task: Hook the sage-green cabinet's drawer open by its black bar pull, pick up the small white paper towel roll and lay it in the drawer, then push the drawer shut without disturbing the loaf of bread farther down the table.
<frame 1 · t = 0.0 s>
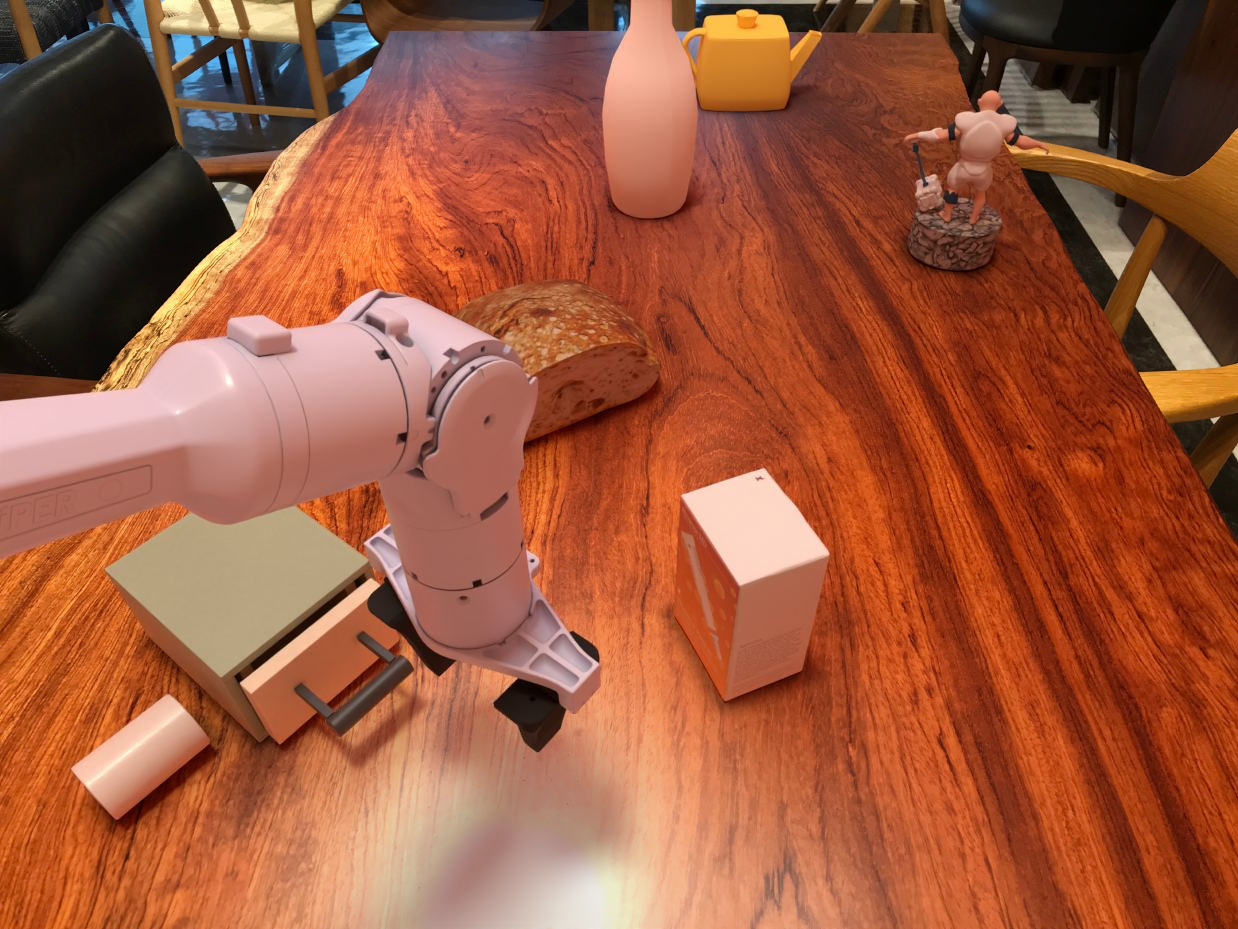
hand: (494, 698, 50), 9 cm above the table, tool pointing down, fingers open, 7 cm apart
paper towel roll: (155, 770, 56), on the table
bread: (543, 380, 85), on the table
figurine: (947, 252, 100), on the table
drawer: (295, 634, 59), point 4 cm above the table, slide at 0.5 cm
small box: (735, 644, 63), on the table
teapot: (746, 97, 132), on the table
bottle: (648, 203, 109), on the table
cabinet: (271, 633, 64), on the table
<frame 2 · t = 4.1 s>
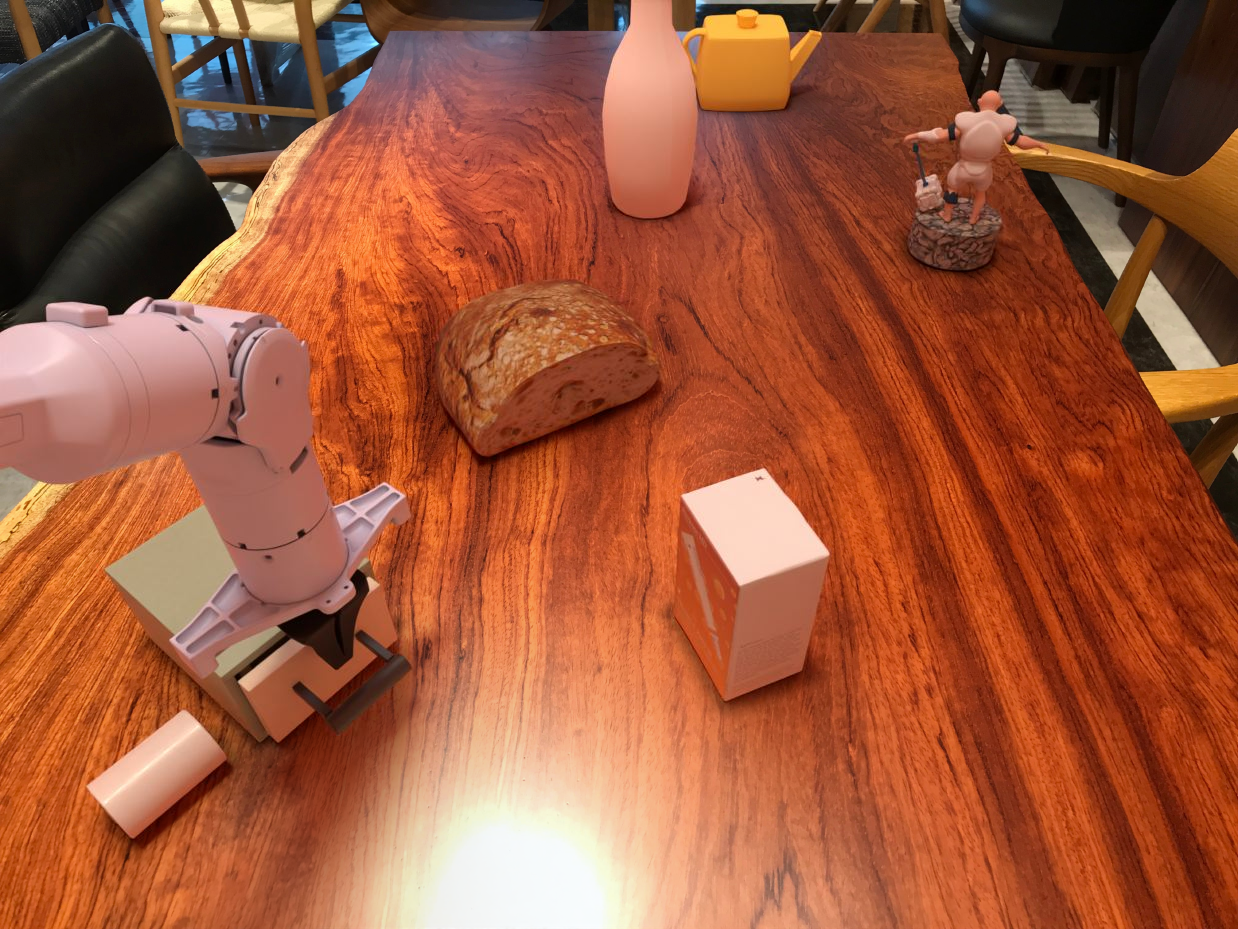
hand: (335, 655, 55), 6 cm above the table, tool pointing down, fingers closed
paper towel roll: (153, 767, 56), point 1 cm above the table, tilted 50°
everything else where it was.
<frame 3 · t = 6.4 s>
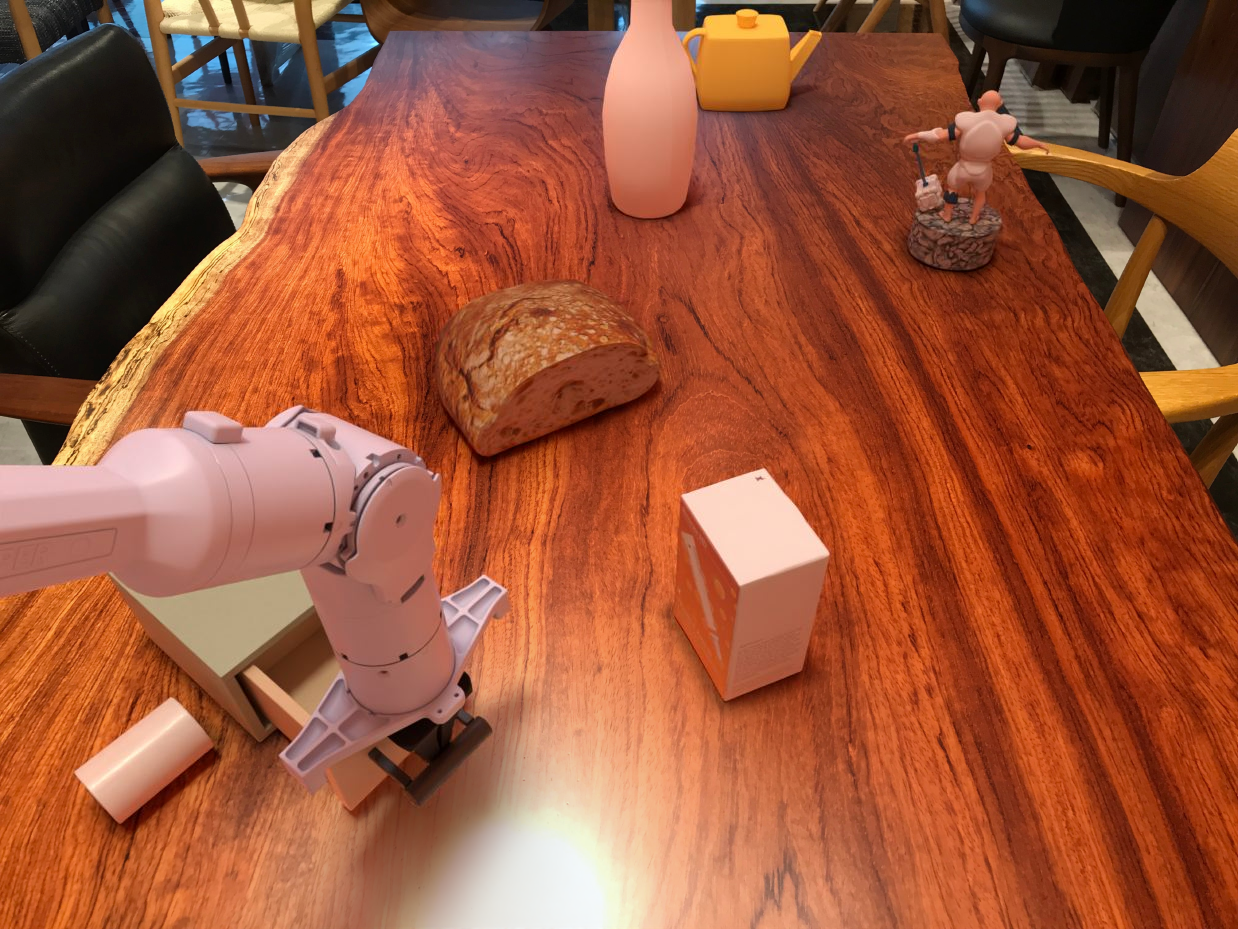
hand: (429, 749, 54), 3 cm above the table, tool pointing down, fingers closed, pressing on drawer
paper towel roll: (155, 770, 56), on the table, tilted 11°
drawer: (364, 691, 56), point 4 cm above the table, slide at 7.6 cm, touching gripper
everything else where it was.
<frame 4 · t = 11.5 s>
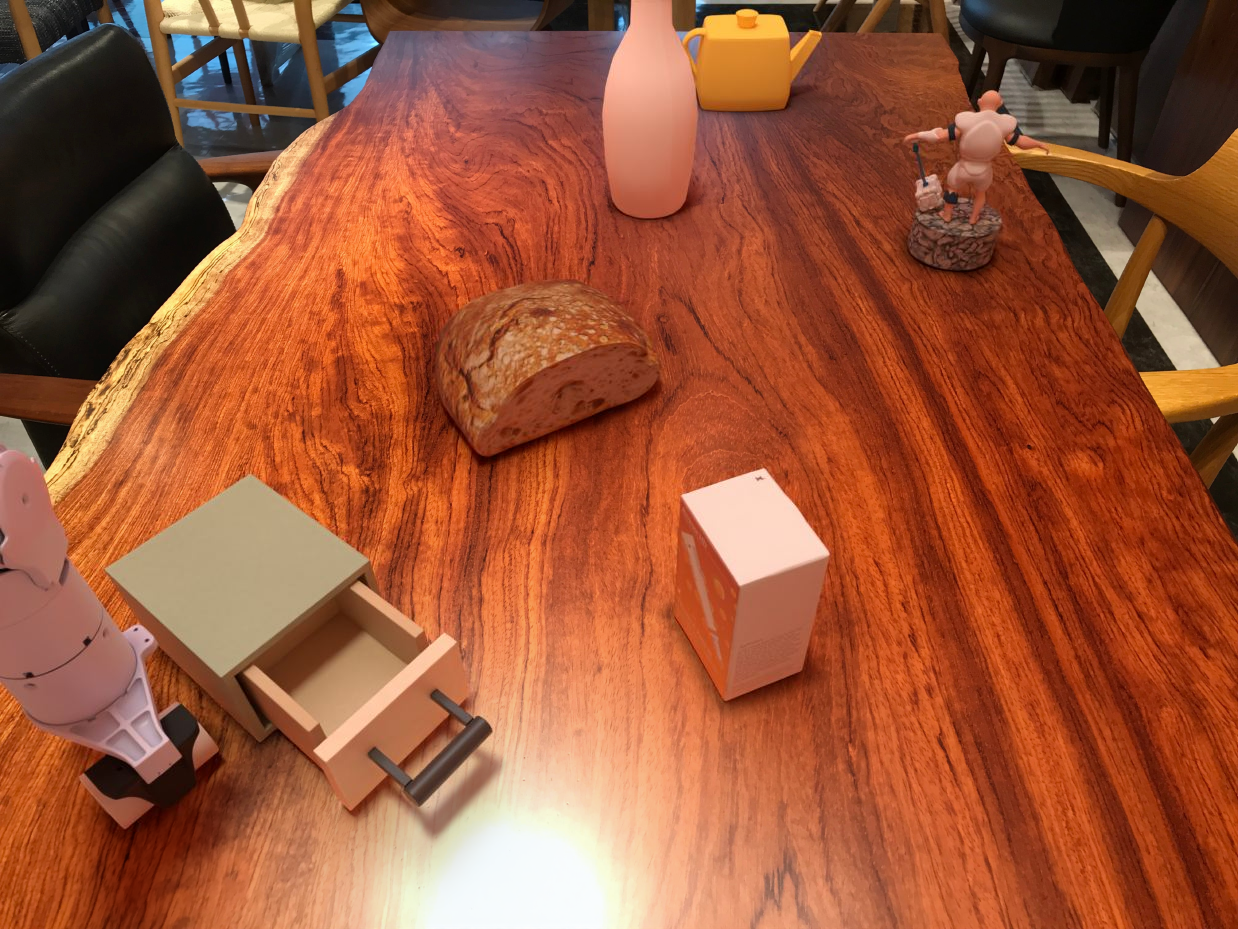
hand: (145, 757, 55), 2 cm above the table, tool pointing down, fingers open, 7 cm apart
paper towel roll: (130, 740, 55), point 3 cm above the table, tilted 103°
drawer: (364, 691, 56), point 4 cm above the table, slide at 7.6 cm
everything else where it was.
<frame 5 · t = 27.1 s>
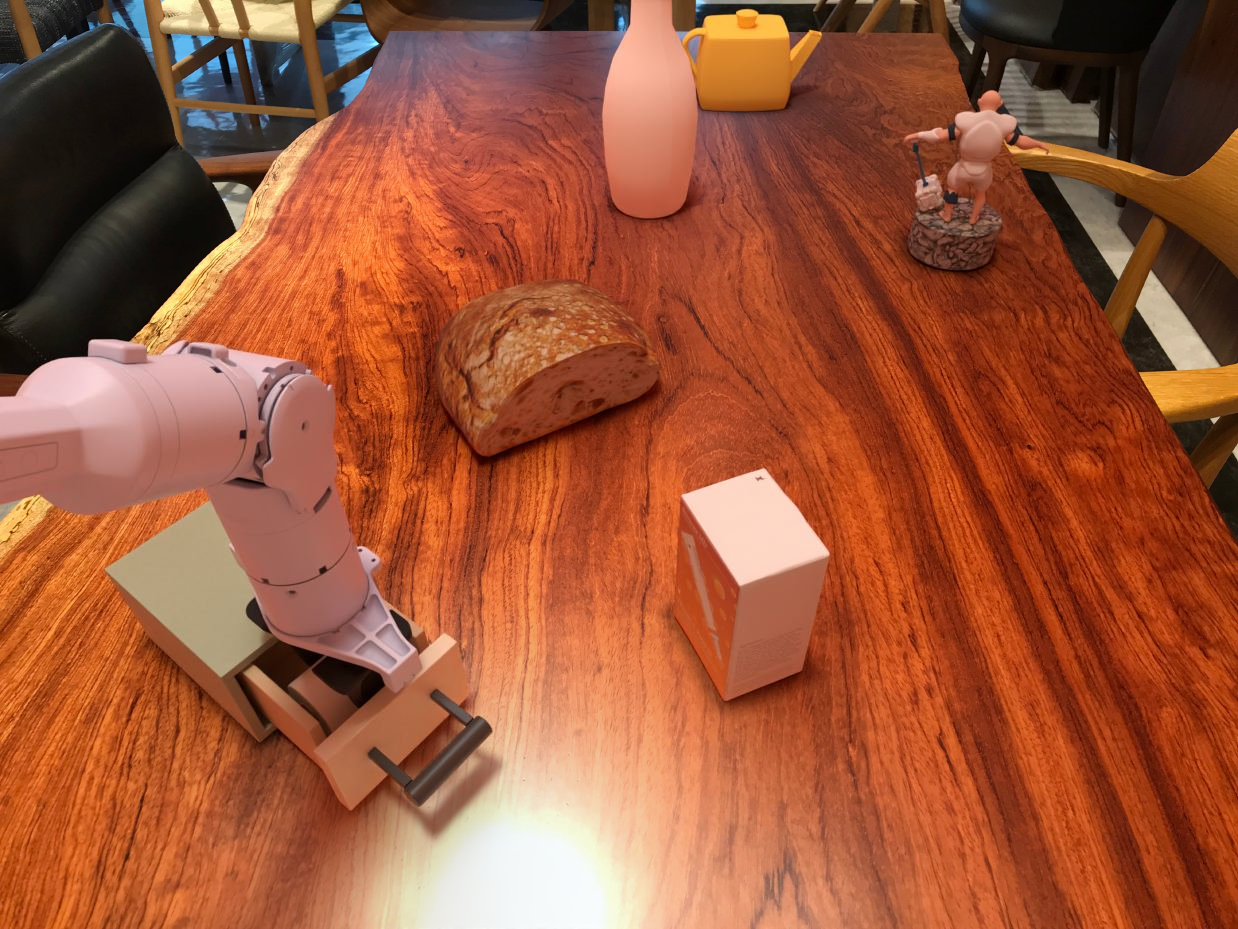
hand: (353, 682, 56), 4 cm above the table, tool pointing down, fingers closed on paper towel roll, 4 cm apart
paper towel roll: (329, 652, 56), point 5 cm above the table, tilted 110°, touching gripper
everything else where it was.
when the fingers open (8 cm above the table, at t = 33.7 s): paper towel roll drops 4 cm and tips over, resting on drawer.
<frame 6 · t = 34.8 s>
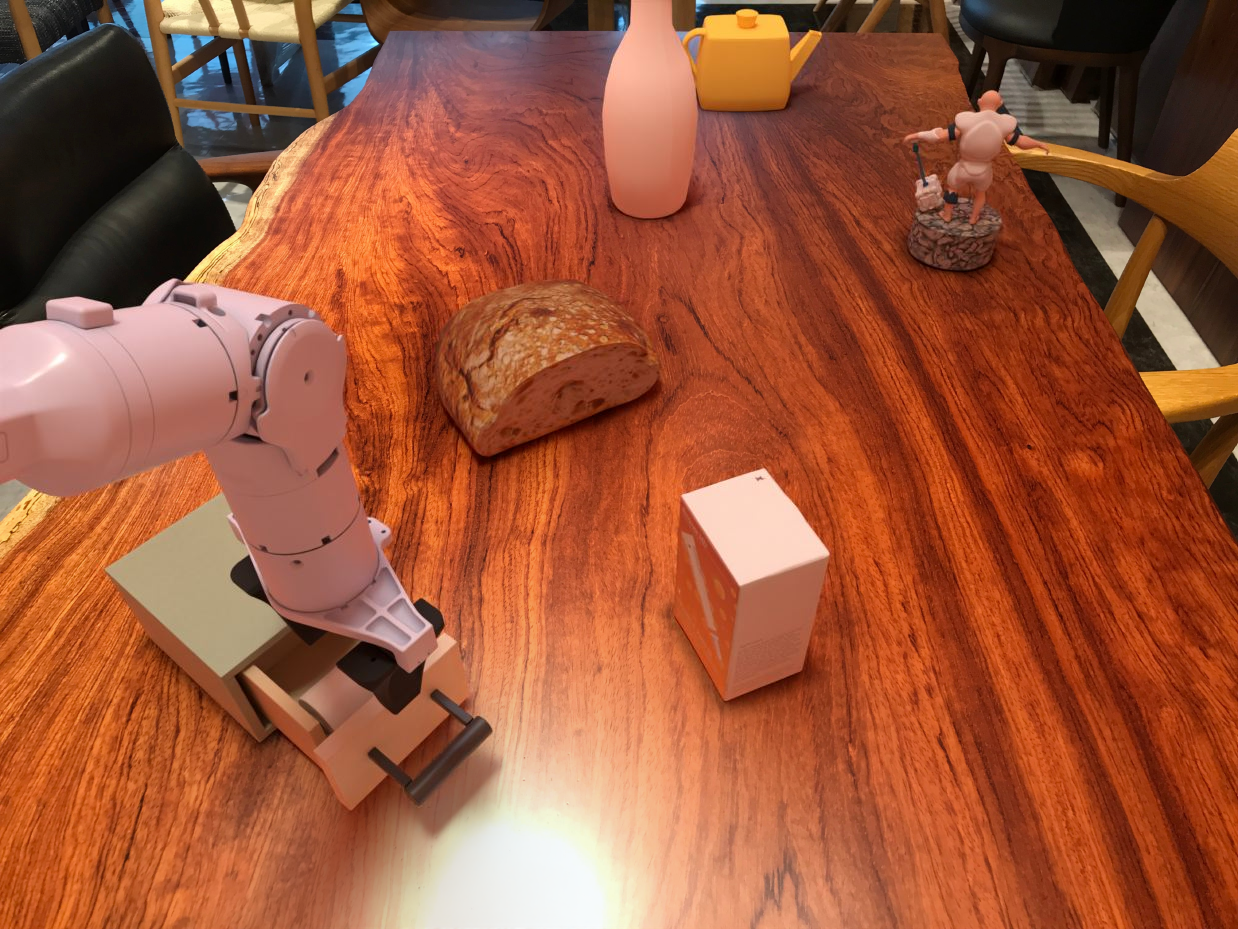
hand: (361, 665, 52), 8 cm above the table, tool pointing down, fingers open, 7 cm apart
paper towel roll: (340, 662, 56), point 5 cm above the table, tilted 132°, touching drawer
drawer: (364, 691, 56), point 4 cm above the table, slide at 7.6 cm, touching paper towel roll
everything else where it was.
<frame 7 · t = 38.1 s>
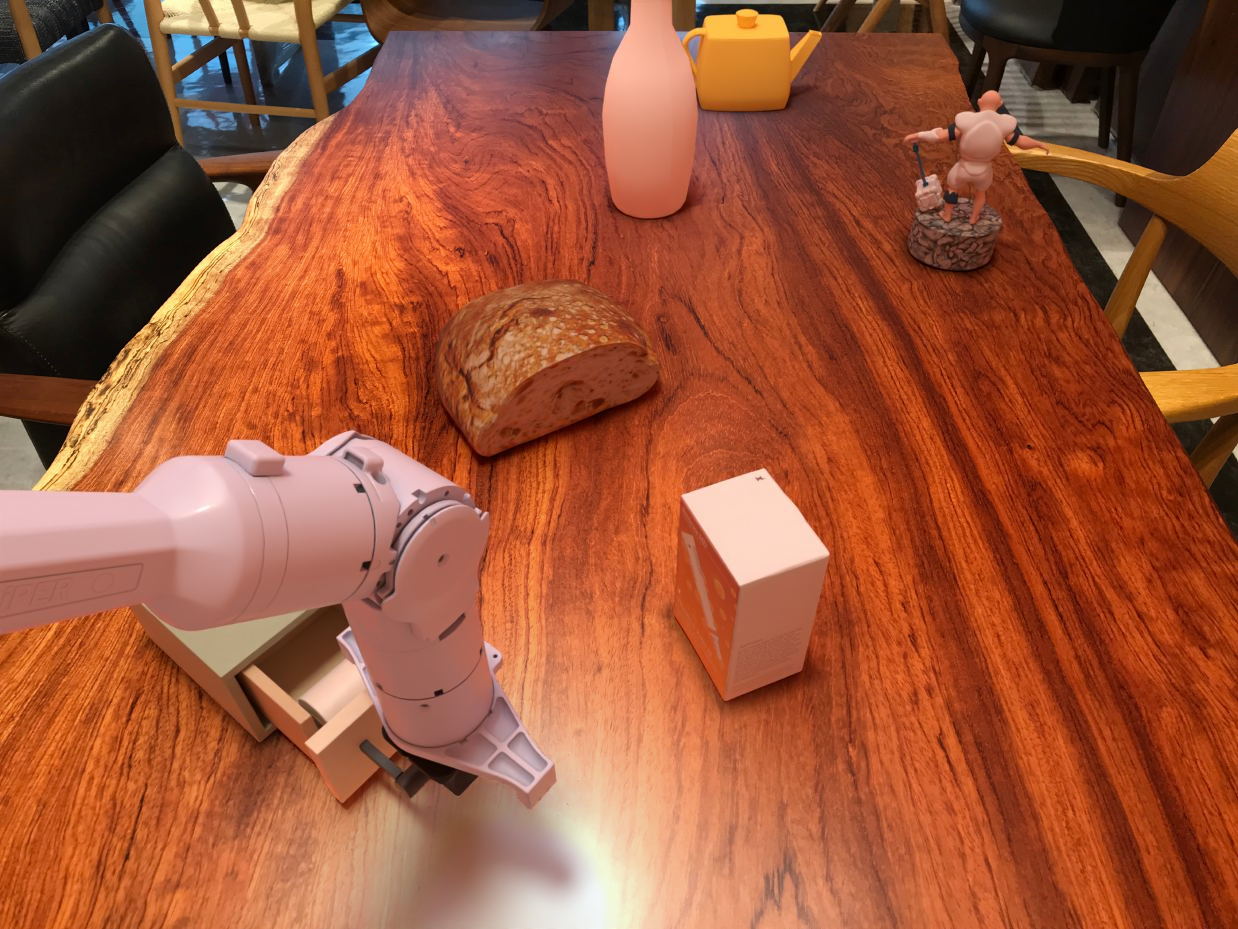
hand: (462, 778, 52), 3 cm above the table, tool pointing down, fingers closed
paper towel roll: (345, 663, 55), point 6 cm above the table, tilted 152°, touching drawer
drawer: (356, 685, 56), point 4 cm above the table, slide at 6.8 cm, touching gripper, paper towel roll
everything else where it was.
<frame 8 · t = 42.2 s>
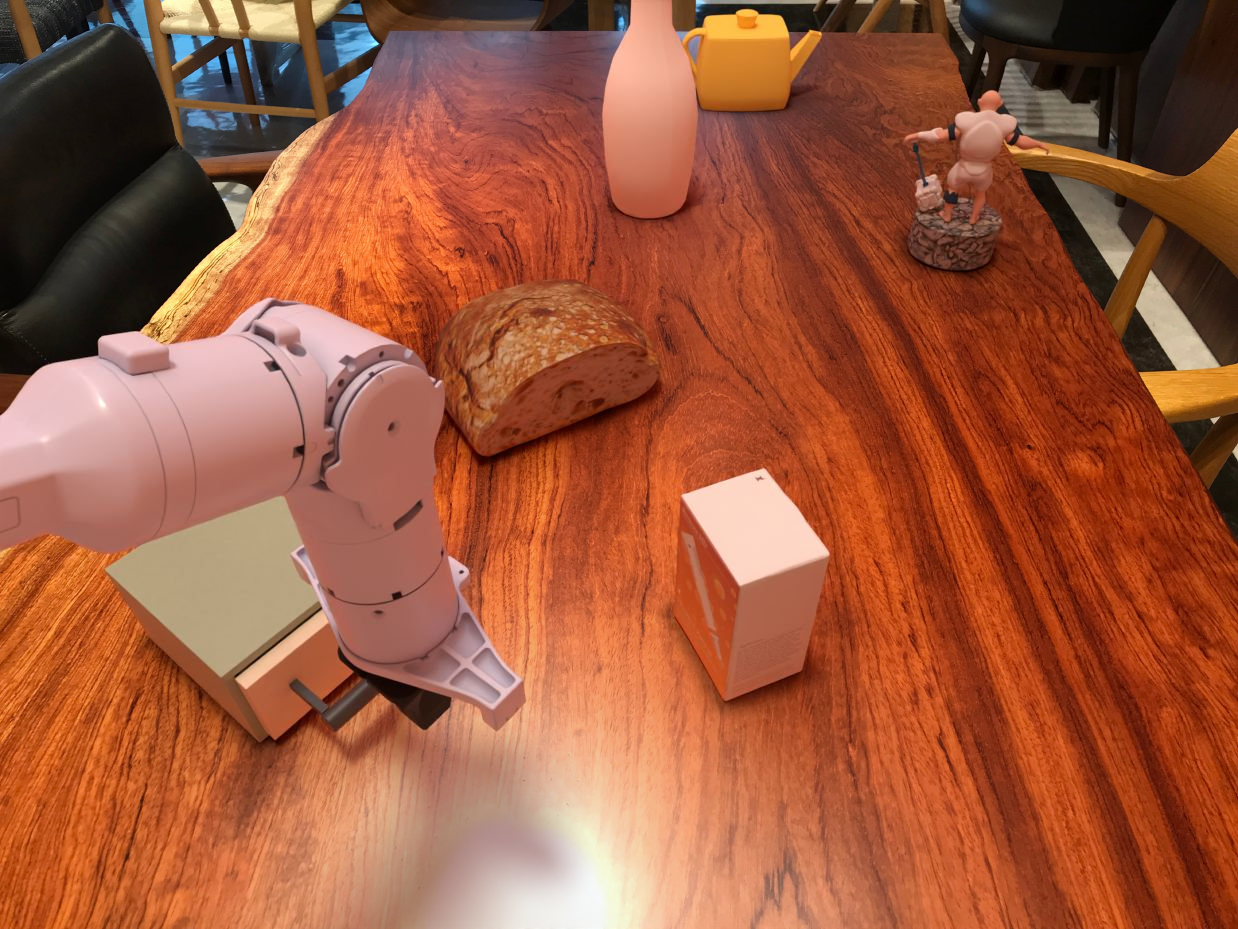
hand: (429, 711, 49), 9 cm above the table, tool pointing down, fingers closed
paper towel roll: (255, 610, 63), point 2 cm above the table, tilted 6°, touching drawer
drawer: (290, 630, 59), point 4 cm above the table, slide at 0.0 cm, touching paper towel roll
everything else where it was.
at the end: drawer pulled out 7.6 cm at the most during the clip, back to where it started at the end; paper towel roll inside the target area in the cabinet (1.1 cm from its centre), point 1.9 cm above the cabinet's base; drawer slide at 0.0 cm; bread moved 0.2 cm from its start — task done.
